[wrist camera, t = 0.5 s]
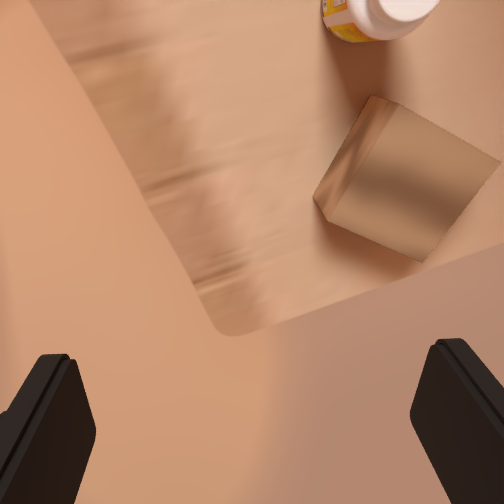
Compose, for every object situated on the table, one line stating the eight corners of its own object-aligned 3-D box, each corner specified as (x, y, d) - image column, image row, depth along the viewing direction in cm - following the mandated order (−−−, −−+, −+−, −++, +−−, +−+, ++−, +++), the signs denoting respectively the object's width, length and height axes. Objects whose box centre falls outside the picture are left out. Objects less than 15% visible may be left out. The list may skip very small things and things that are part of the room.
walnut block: (371, 94, 32) (399, 103, 27) (459, 144, 34) (501, 162, 29) (312, 195, 36) (327, 221, 31) (395, 233, 39) (422, 263, 33)
